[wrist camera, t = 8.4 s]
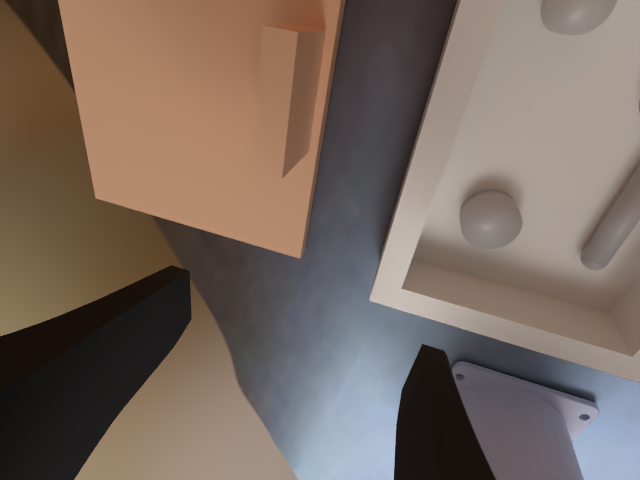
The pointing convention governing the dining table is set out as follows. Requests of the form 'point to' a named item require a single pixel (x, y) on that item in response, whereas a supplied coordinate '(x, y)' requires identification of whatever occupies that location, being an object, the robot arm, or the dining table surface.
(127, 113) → the lid
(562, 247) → the parts tray
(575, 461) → the robot arm
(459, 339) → the dining table surface
